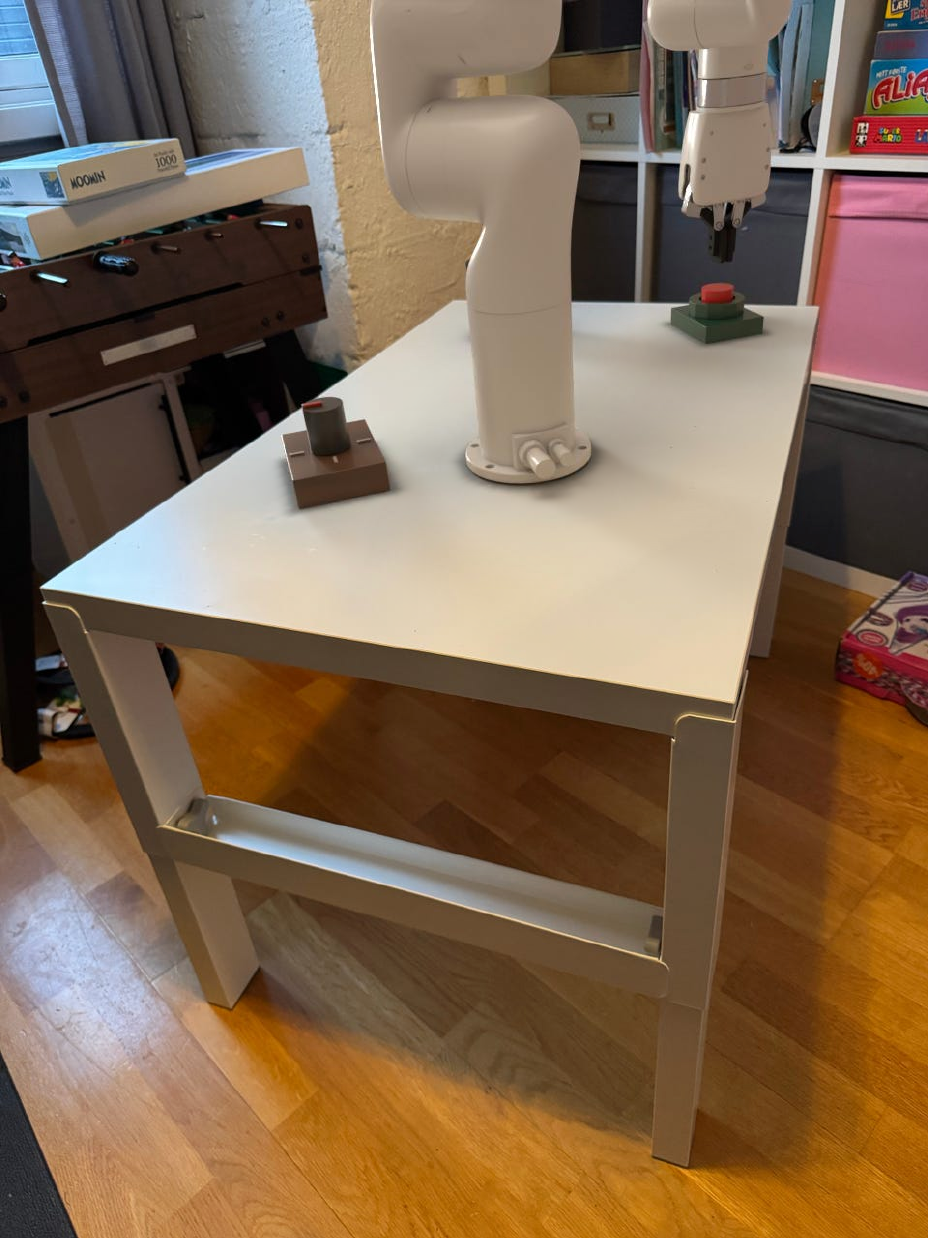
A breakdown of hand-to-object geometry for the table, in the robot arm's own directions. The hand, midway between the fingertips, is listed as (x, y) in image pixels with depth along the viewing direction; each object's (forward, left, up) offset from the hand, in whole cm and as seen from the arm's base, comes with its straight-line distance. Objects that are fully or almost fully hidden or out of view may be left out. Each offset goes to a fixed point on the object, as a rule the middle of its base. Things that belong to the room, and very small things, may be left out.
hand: (720, 260), depth 112 cm
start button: (0, 0, -5) cm, 5 cm away
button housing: (0, 0, -9) cm, 9 cm away
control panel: (-22, +54, -9) cm, 59 cm away
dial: (-22, +54, -6) cm, 59 cm away
